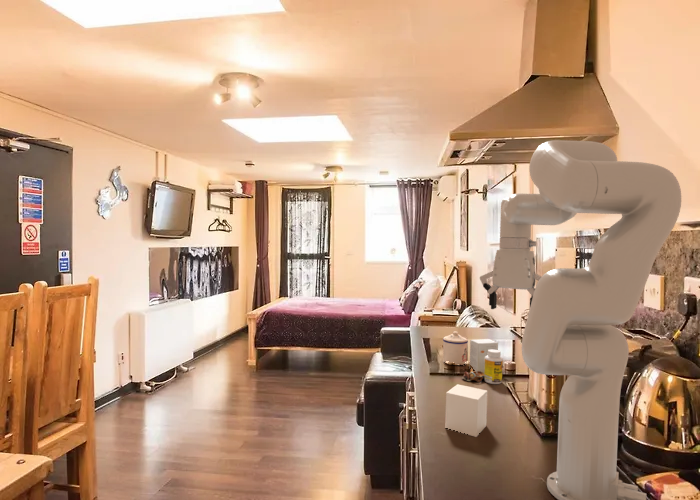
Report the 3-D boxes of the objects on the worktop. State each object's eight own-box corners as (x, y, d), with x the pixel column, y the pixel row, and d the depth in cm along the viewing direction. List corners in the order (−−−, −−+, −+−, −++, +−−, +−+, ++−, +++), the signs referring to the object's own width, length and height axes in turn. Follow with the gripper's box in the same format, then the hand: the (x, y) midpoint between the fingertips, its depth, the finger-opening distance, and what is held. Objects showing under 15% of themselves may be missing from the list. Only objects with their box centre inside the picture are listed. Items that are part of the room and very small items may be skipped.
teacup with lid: (467, 367, 160) (468, 335, 160) (442, 365, 162) (443, 333, 161) (466, 358, 172) (467, 328, 171) (442, 356, 173) (443, 327, 173)
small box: (488, 367, 160) (489, 338, 160) (497, 372, 155) (498, 342, 155) (468, 368, 158) (469, 339, 158) (477, 373, 153) (478, 343, 153)
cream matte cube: (486, 425, 110) (487, 390, 109) (476, 436, 103) (477, 399, 103) (456, 418, 114) (457, 384, 114) (445, 428, 108) (446, 392, 107)
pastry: (493, 377, 151) (493, 366, 151) (480, 386, 141) (480, 375, 141) (473, 373, 155) (473, 363, 155) (459, 381, 145) (460, 370, 145)
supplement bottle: (493, 385, 140) (495, 353, 140) (480, 380, 145) (481, 349, 145) (505, 383, 143) (506, 351, 143) (492, 378, 148) (493, 347, 148)
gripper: (553, 246, 114) (550, 312, 114) (485, 244, 123) (483, 305, 123) (548, 246, 107) (546, 316, 108) (477, 244, 116) (475, 308, 117)
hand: (512, 310), depth 115 cm, fingers open, 9 cm apart
